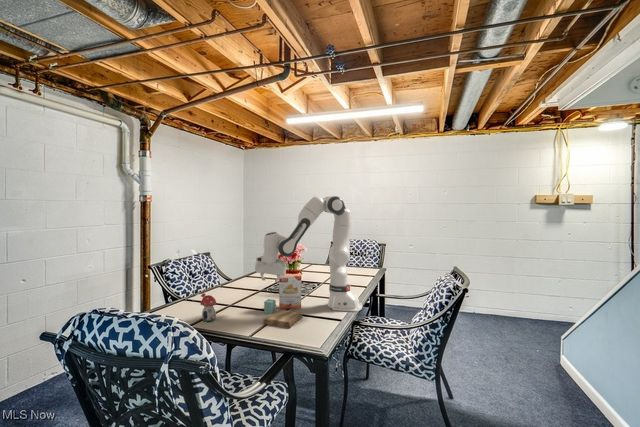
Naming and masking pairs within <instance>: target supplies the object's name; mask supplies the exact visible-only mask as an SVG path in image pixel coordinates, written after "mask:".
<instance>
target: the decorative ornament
mask: <svg viewBox="0 0 640 427" xmlns="http://www.w3.org/2000/svg"><path fill="white" fill-rule="evenodd" d="M200 297H202V299H201V301H200V303H199V305H200V306H203V308H202V312H201V316H202V321H203V322H205V323H211V322H213V321H215V320H216V315H217V312H216V309H215V307H214V306H216V305H217V300H216V299H215V297H213V296H212V295H209V294H208V295H206V293H202V294H201V295H200Z"/></svg>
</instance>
